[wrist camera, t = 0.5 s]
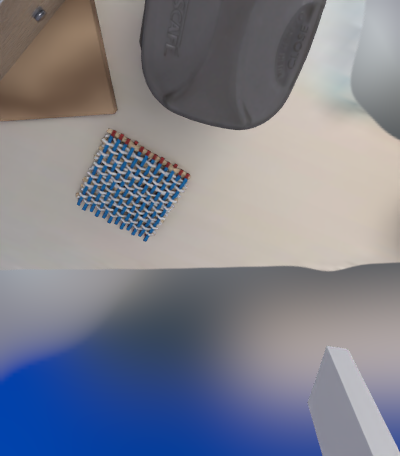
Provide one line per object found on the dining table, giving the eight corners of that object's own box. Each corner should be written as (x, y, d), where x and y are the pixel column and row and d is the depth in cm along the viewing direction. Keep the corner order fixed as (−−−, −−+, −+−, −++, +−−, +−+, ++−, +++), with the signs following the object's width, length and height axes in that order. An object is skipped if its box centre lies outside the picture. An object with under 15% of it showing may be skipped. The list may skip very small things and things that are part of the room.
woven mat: (196, 172, 39) (195, 180, 37) (152, 235, 44) (150, 245, 43) (110, 121, 36) (105, 128, 34) (75, 195, 41) (69, 204, 40)
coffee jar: (252, 79, 32) (276, 163, 17) (169, 56, 32) (118, 121, 16) (293, -49, 27) (383, -93, 12) (194, -82, 26) (153, -173, 11)
